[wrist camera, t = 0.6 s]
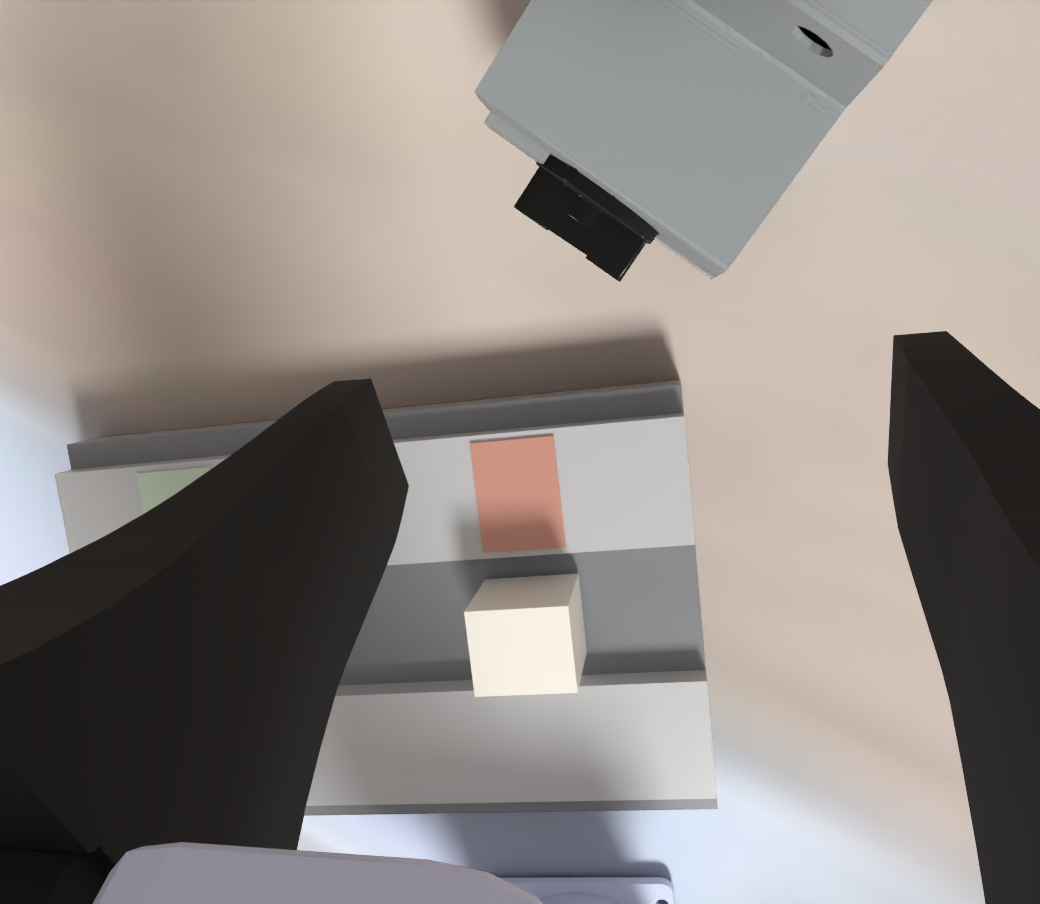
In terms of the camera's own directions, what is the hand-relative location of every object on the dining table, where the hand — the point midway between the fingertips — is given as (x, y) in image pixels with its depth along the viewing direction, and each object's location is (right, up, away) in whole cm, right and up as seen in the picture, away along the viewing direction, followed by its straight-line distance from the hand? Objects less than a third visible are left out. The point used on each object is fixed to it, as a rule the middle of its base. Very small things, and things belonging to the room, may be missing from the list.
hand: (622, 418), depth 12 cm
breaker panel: (-6, -7, +24) cm, 25 cm away
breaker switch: (-1, -7, +21) cm, 22 cm away
